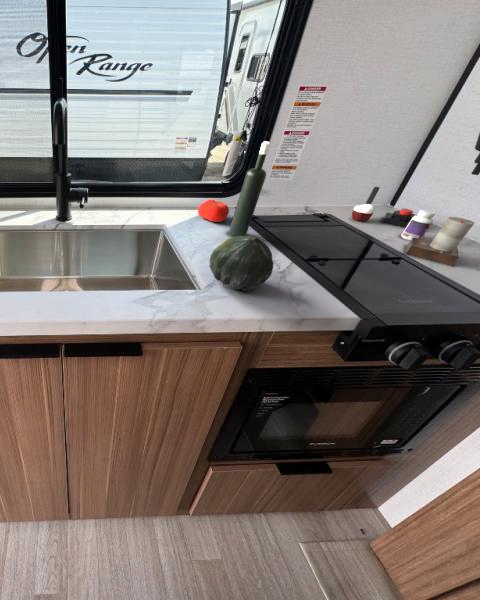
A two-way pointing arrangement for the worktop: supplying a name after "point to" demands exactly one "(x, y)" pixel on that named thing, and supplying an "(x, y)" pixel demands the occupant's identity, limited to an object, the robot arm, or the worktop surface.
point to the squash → (242, 262)
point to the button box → (397, 219)
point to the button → (406, 212)
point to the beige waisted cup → (451, 234)
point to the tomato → (213, 210)
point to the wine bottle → (249, 195)
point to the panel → (431, 252)
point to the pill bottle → (418, 225)
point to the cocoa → (365, 208)
